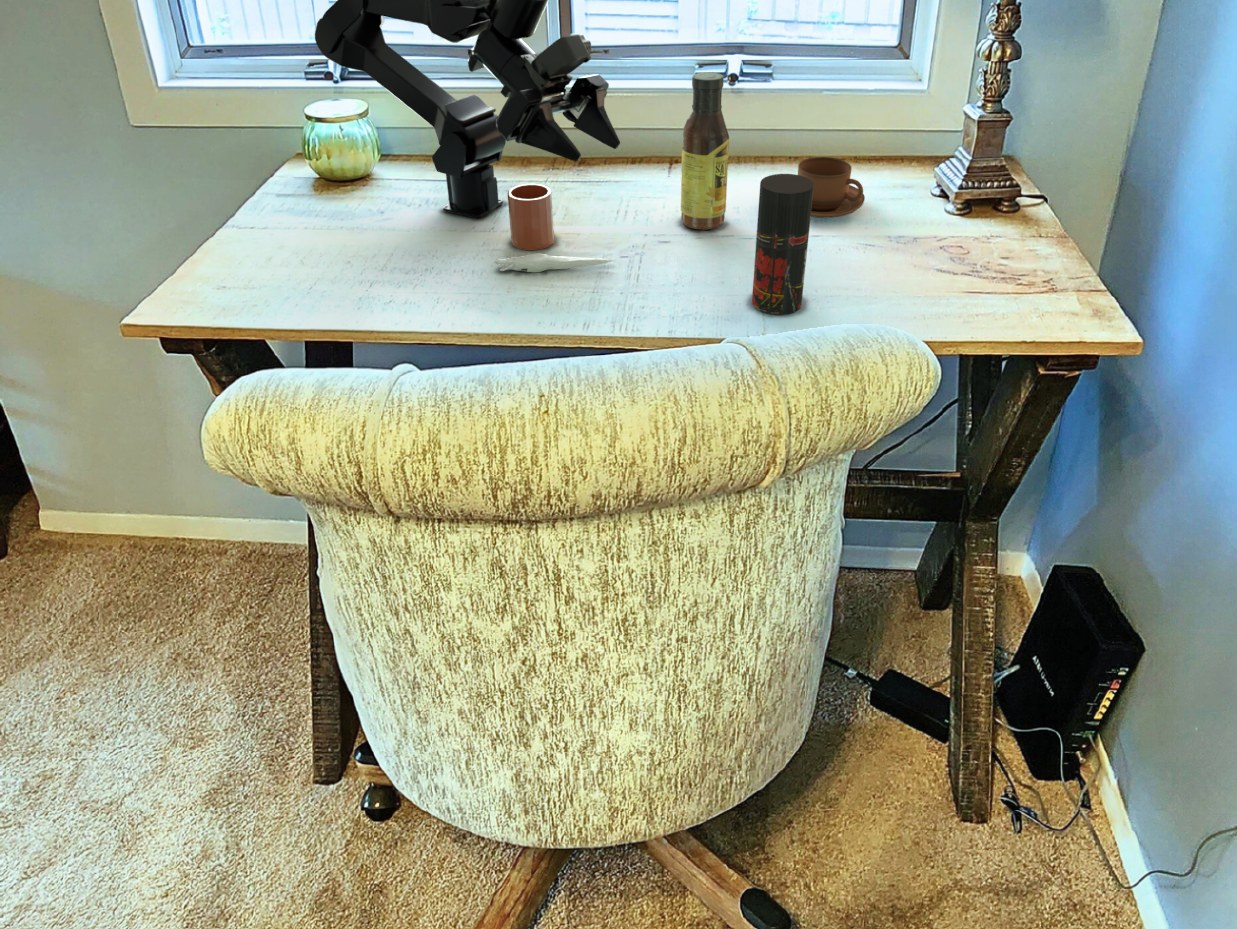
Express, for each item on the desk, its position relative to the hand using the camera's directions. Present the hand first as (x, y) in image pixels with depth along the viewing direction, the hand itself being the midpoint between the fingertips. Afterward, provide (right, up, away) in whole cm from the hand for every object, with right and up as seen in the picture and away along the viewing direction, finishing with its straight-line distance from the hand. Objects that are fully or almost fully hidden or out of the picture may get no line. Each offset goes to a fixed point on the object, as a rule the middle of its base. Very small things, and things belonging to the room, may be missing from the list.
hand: (599, 152), depth 129 cm
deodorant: (+22, -20, -6) cm, 30 cm away
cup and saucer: (+31, -3, +17) cm, 36 cm away
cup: (-9, -9, +9) cm, 16 cm away
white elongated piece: (-6, -14, +3) cm, 16 cm away
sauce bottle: (+14, -6, +14) cm, 21 cm away
